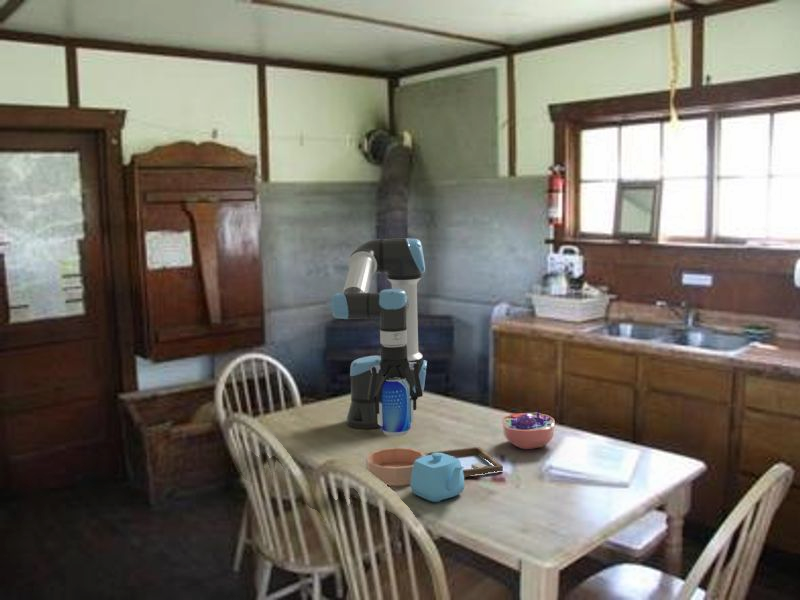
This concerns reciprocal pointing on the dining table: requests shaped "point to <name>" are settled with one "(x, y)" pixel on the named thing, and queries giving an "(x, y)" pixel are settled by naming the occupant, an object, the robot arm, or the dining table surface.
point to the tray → (473, 451)
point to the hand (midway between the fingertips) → (395, 422)
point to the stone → (478, 465)
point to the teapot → (437, 477)
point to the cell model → (528, 429)
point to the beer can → (395, 407)
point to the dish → (393, 465)
